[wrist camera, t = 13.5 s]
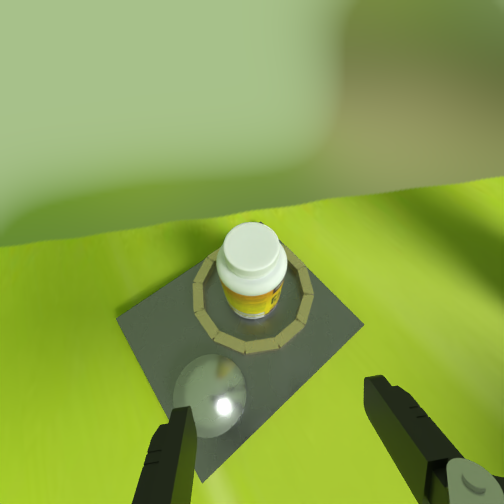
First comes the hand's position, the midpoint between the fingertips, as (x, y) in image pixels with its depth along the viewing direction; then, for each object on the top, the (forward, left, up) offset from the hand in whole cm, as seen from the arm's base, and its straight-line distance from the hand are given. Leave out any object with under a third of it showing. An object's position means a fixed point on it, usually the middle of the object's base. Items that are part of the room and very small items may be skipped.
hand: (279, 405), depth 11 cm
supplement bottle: (-5, -8, -12) cm, 15 cm away
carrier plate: (-2, -7, -13) cm, 15 cm away
